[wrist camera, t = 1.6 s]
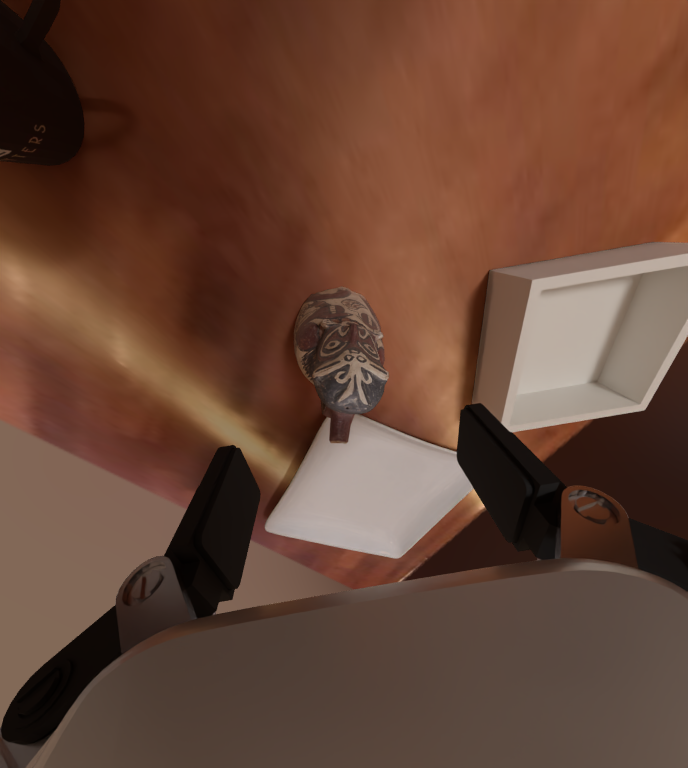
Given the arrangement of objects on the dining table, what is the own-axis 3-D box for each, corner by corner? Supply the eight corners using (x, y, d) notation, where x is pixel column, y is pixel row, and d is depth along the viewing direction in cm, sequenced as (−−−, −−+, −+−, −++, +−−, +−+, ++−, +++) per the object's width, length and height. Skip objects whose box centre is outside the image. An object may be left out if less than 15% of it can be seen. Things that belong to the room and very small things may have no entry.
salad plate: (331, 388, 26) (332, 408, 23) (483, 447, 32) (500, 468, 29) (265, 508, 35) (260, 534, 32) (394, 537, 41) (399, 560, 38)
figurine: (390, 305, 22) (451, 370, 12) (357, 374, 25) (383, 473, 15) (310, 273, 20) (300, 316, 10) (286, 351, 23) (259, 445, 13)
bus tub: (489, 270, 21) (532, 279, 17) (654, 242, 21) (739, 244, 17) (471, 403, 28) (498, 434, 24) (595, 382, 28) (644, 410, 24)
